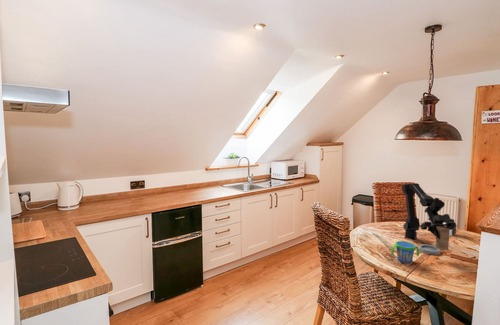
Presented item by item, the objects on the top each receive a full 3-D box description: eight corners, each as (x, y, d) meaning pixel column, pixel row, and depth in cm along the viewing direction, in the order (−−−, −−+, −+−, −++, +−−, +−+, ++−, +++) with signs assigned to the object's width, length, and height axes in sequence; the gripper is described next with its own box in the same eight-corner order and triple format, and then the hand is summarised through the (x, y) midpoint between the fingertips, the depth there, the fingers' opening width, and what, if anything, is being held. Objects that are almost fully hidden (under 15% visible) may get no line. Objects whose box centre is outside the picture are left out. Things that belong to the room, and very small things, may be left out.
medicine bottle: (451, 236, 203) (452, 220, 202) (441, 233, 209) (442, 218, 208) (456, 234, 207) (457, 218, 206) (445, 231, 213) (446, 216, 212)
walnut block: (435, 246, 168) (436, 226, 167) (443, 247, 168) (444, 226, 167) (440, 250, 164) (441, 228, 162) (448, 250, 164) (449, 229, 162)
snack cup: (414, 257, 170) (415, 241, 169) (422, 265, 159) (423, 248, 158) (387, 256, 172) (388, 240, 171) (394, 263, 162) (394, 247, 161)
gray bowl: (415, 250, 179) (415, 247, 179) (421, 245, 187) (421, 242, 187) (437, 256, 170) (437, 253, 170) (442, 250, 179) (442, 247, 179)
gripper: (424, 209, 168) (434, 232, 158) (455, 209, 167) (467, 233, 157) (416, 217, 177) (425, 240, 167) (446, 217, 176) (457, 241, 166)
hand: (443, 238), depth 164 cm, fingers closed on walnut block, 5 cm apart
